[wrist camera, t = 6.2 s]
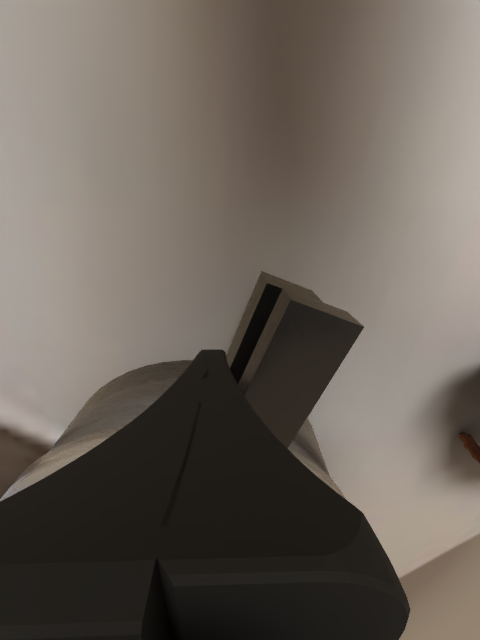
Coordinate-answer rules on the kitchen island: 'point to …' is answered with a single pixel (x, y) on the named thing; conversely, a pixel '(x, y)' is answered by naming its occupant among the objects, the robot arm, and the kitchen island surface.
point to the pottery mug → (471, 445)
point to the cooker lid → (261, 379)
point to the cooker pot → (153, 380)
